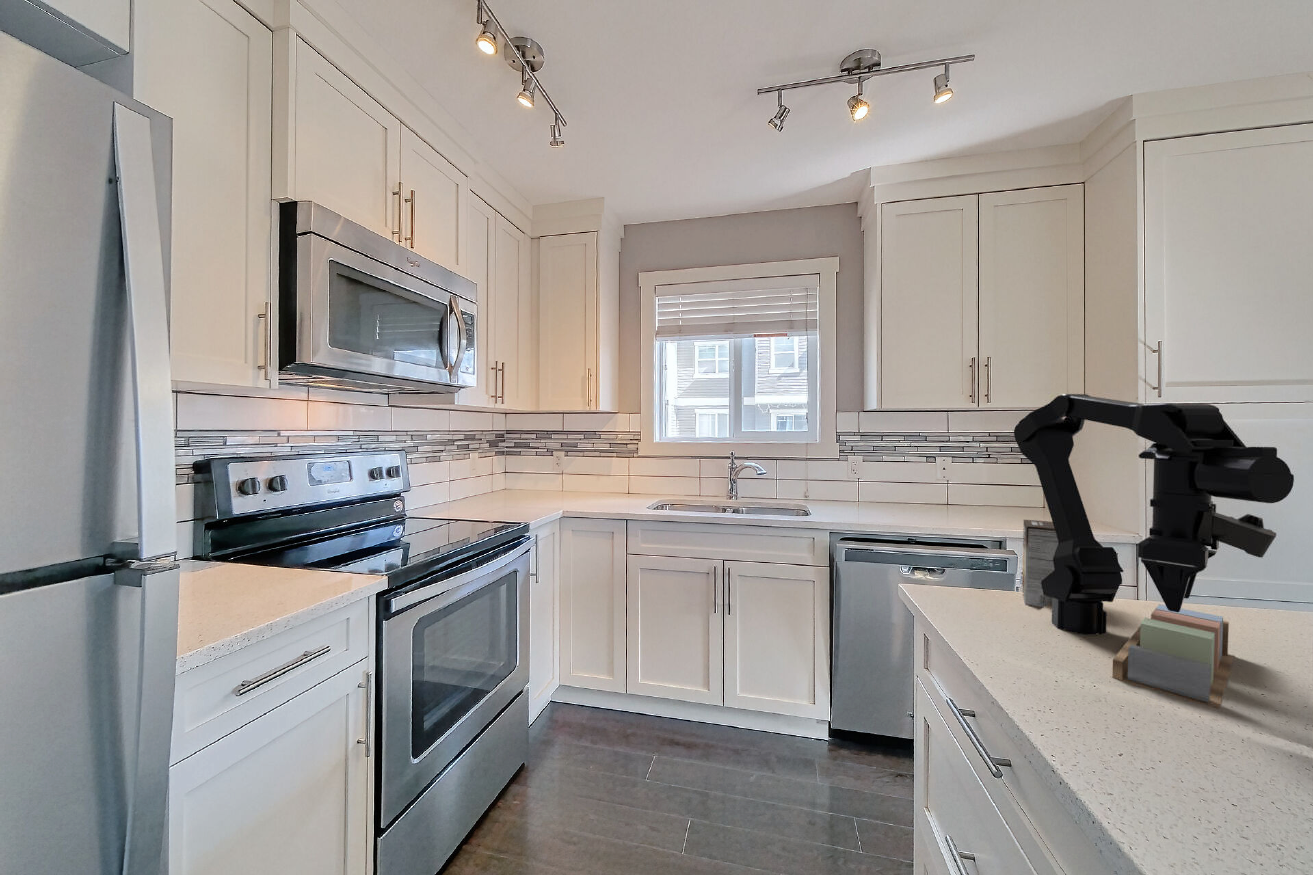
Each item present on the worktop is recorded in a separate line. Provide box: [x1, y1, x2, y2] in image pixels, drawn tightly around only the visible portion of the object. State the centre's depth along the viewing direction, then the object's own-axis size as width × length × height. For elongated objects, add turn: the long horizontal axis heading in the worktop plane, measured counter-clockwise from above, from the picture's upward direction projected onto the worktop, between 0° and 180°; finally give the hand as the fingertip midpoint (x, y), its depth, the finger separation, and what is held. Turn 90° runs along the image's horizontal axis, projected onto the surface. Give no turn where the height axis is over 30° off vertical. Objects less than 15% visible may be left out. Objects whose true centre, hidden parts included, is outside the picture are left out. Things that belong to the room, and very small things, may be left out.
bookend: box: [1128, 644, 1211, 703], centre depth 68 cm, size 2×8×4 cm, turn 39°
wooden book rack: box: [1112, 607, 1235, 709], centre depth 75 cm, size 24×10×6 cm, turn 129°
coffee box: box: [1021, 519, 1058, 608], centre depth 105 cm, size 9×6×16 cm
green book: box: [1139, 617, 1215, 685], centre depth 72 cm, size 4×7×6 cm, turn 39°
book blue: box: [1155, 603, 1224, 660], centre depth 80 cm, size 4×7×6 cm, turn 39°
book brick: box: [1150, 608, 1221, 670], centre depth 77 cm, size 4×7×6 cm, turn 39°
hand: (1178, 604), depth 72 cm, fingers open, 9 cm apart
